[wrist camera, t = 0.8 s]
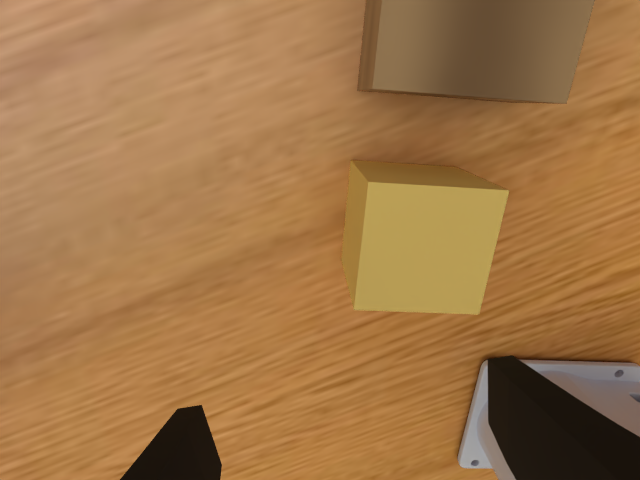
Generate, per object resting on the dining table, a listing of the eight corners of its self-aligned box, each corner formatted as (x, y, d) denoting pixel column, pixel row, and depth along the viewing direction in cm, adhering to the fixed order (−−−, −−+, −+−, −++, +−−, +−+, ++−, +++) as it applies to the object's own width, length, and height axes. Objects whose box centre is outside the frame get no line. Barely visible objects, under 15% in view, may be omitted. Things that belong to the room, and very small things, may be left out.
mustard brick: (455, 166, 18) (509, 190, 13) (436, 263, 20) (478, 314, 15) (350, 159, 18) (368, 182, 13) (340, 259, 20) (353, 309, 15)
